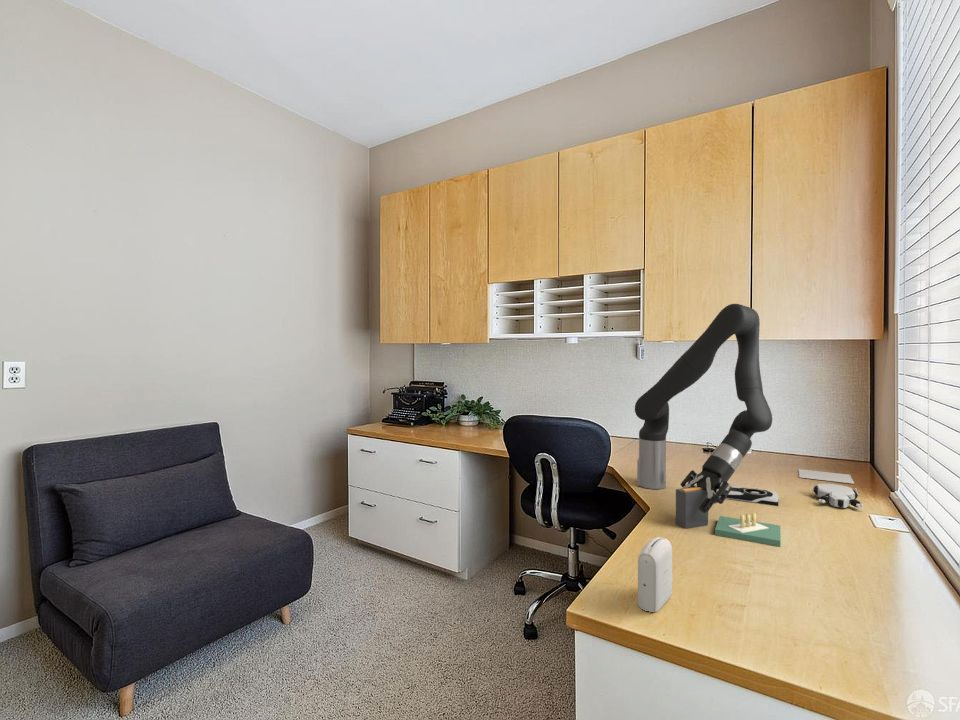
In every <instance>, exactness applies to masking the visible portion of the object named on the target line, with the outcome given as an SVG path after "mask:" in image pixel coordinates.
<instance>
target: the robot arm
mask: <svg viewBox="0 0 960 720" xmlns="http://www.w3.org/2000/svg"><path fill="white" fill-rule="evenodd" d="M760 323H761V322H760V316H759V314H758V312H757V311H756V310H755V309H754V308H752V307H749V306H746V305H743V304H741V303H731V304H728V305H726V306H724V308H722V309H721V310H720V311H719V312H718V314H717V315H716V316H715V318H714V319H713V320H712V321H711V323H710V324H709V326H707V328H706V329H705V331H704V332H703V333H702V334H701V335H699V337H698V338H697V339H696V340H695V341H694V343H692V344H691V346H689V348H687V350H686V351H684V353H683V354H682V355H680V357H679V358H678V359H677V360H676V361H675V362H674V363H673V365H672V366H671V367H670V368H669V369H668V370H667V371H665V373H664V375H662V376H661V378H660V379H659V380H658V381H657V382H656V383H655V384H654V385H653V386H652V387H651V388H650V389H648V390H647V391H646V392H645V393H643V394H642V395H640V397H638V399H637V400H636V402H635V405H634V413H635V415H636V417H637V418H638V419H640V420H642V421H644V422H643V426H642V427H641V428H640V429H639V431H638V459H637V461H636V462H637V465H636V466H637V469H636V470H637V471H636V472H637V473H636V474H637V479H636V480H637V487H641V488H645V489H650V490H651V489H652V490H661V489H662V490H663V489H665V488H666V486H667V434H668V430H669V426H670V425H669V424H670V421H669V420H670V406H669V402H670V400H671V399H673V398H674V397H676V396H677V395H679V394H680V393H681V392H683V391H685V390H686V389H688V388H689V387H692V385H695V383H697V381H699V380H700V379H701V378H702V376H704V375H705V373H707V372H708V371H709V369H710V368H711V366H712V364H713V362H714V360H715V357H716V354H717V352H718V351H719V349H720V348H721V346H722V345H723V344H725V343H726V341H728V339H729V338H731V337H732V336H733V335H735V339H736V343H737V349H738V350H737V351H738V352H737V353H738V355H737V359H736V360H737V361H736V364H735V369H734V381H735V389H736V390H735V391H736V396H737V398H738V400H739V401H740V402H744V404H745V407H746V410H743V411H740V412H739V413H738V414H737V415H736V416H735V418H734V419H733V421H732V424H731V425H730V428H729V430H728V433H727V434H726V435H725V436H724V437H723V439H722V441H721V442H720V443H719V445H717V447H715V449H714V450H713V451H712V453H711V454H710V455H709V456H708V458H707V459H706V461H705V462H704V464H702V469H701V471H700V472H698V473H697V472H696V471H695V470H694V469H692V470H690V471H689V473H688V474H687V475H686V476H685V478H684V479H683V480H682V481H681V482H680V484H679V485H680V486H681V487H682V488H689V487H700V488H703V489H704V490H707V492H708V498H706V499H705V500H704V502H703V503H702V504H701V506H700V507H699V509H700V510H701V512H703V513H706V512H708V513H709V510H710V509H711V508H712V507H713V506H714V504H719V505H721V504H723V503H724V502H725V500H727V499H726V497H727V495H728V494H729V492H730V491H731V489H732V487H731V486H732V485H730V483H729V482H728V481H730V479H731V478H732V476H733V474H734V473H735V471H737V469H738V468H739V466H740V465H741V462H742V460H743V459H744V457H746V455H747V454H748V452H749V451H750V449H751V447H752V445H753V443H752V439H751V438H752V437H753V435H754V434H756V433H764V432H766V431H768V430H769V429H770V428H771V427H772V424H773V413H772V411H771V407H770V406H769V404H768V401H767V398H766V397H765V395H764V390H763V388H764V387H763V381H762V375H761V365H760ZM718 489H719V490H718ZM717 490H718V491H717ZM720 496H721V497H720Z"/></svg>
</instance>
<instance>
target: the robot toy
mask: <svg viewBox="0 0 960 720" xmlns="http://www.w3.org/2000/svg"><path fill="white" fill-rule="evenodd" d="M811 488H812V489H811V490H812V492H813V493H814V494H815V495H817V497H818V498H819V499H818V502H819V503H821V504H827V503H828V504H829V505H830V506H831V507H833V508H839V509H840V508H841V509H846V508H848V507H850V505H851V506H853V507H855V508H864V504H863V503H861V501H859V500H857V498H859V496H860V495H859V493H858V489H857V487H855V488H854V489H853V488H852V487H850V486H846V485H841V484H835V483H834V484H833V483H818V484H816V485H815V486H813V483H811Z"/></svg>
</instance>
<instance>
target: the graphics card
mask: <svg viewBox="0 0 960 720" xmlns="http://www.w3.org/2000/svg"><path fill="white" fill-rule="evenodd" d="M730 486H731V487H732V489H731V491H730V492H729V494H728V495H727V497H726V499H725V500H728V501H737V502H744V503H749V504H750V503H752V504H760V505H767V506H774V507H779V498H780V496H779V493H778V492H776V491H775V490H769V489H768V490H766V489H758V488H749V487H741V486H734V485H733V486H732V485H730ZM718 490H719V489H718ZM718 490H717V491H718ZM720 497H721V496H720Z"/></svg>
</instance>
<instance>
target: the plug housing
mask: <svg viewBox="0 0 960 720" xmlns="http://www.w3.org/2000/svg"><path fill="white" fill-rule="evenodd" d="M706 498H708V492H707V490H704V489H703V488H700V487H689V488H683V487H682V488H676V489H675V524H676V525H677V526H679V527H681V528H684V529H686V530H687V529H691V528H692V529H693V528H699V527H705V526H708V525H709V511H708V512H706V513H703V512H701V510H700V509H699V507H700V506H701V504H702V503H703V502H704V500H705V499H706Z"/></svg>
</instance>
